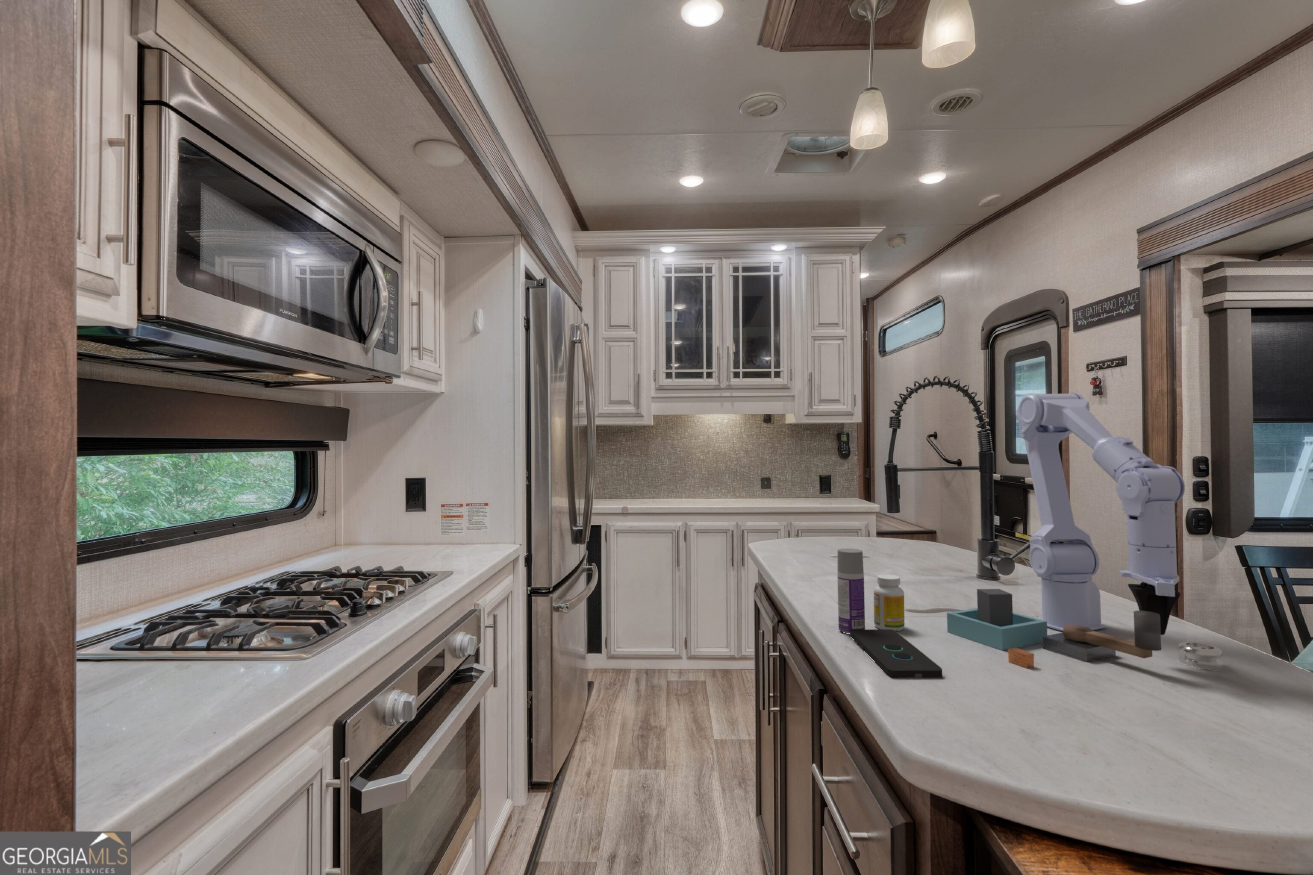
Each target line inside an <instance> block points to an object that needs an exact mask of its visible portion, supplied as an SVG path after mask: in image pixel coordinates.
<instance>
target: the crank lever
mask: <svg viewBox="0 0 1313 875" xmlns="http://www.w3.org/2000/svg"><path fill="white" fill-rule="evenodd" d="M1133 627H1134V628H1133V629H1134V632H1133V633H1134V641H1132V640H1130V639H1126V638H1121V637H1118V636H1115V635H1110V634H1106V633H1103V632H1098V631H1096V630H1092V629H1090V628H1087V627H1083V626H1077V625H1065V626H1063V631H1062V633H1063V636H1064V637H1065V638H1067V639H1070V640H1074V641H1081V642H1088V643H1091V644H1095V645H1098V646H1102V647H1105V648H1109V649H1112V650H1116V652H1120V653H1124V654H1127V655H1130V656H1134V657H1138V658H1141V659H1147V658H1152V657H1153V651H1154V652H1158V651H1161V650H1162V635H1161V628H1160V614H1157V613H1154V612H1149V611H1139V610H1134V611H1133Z"/></svg>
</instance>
